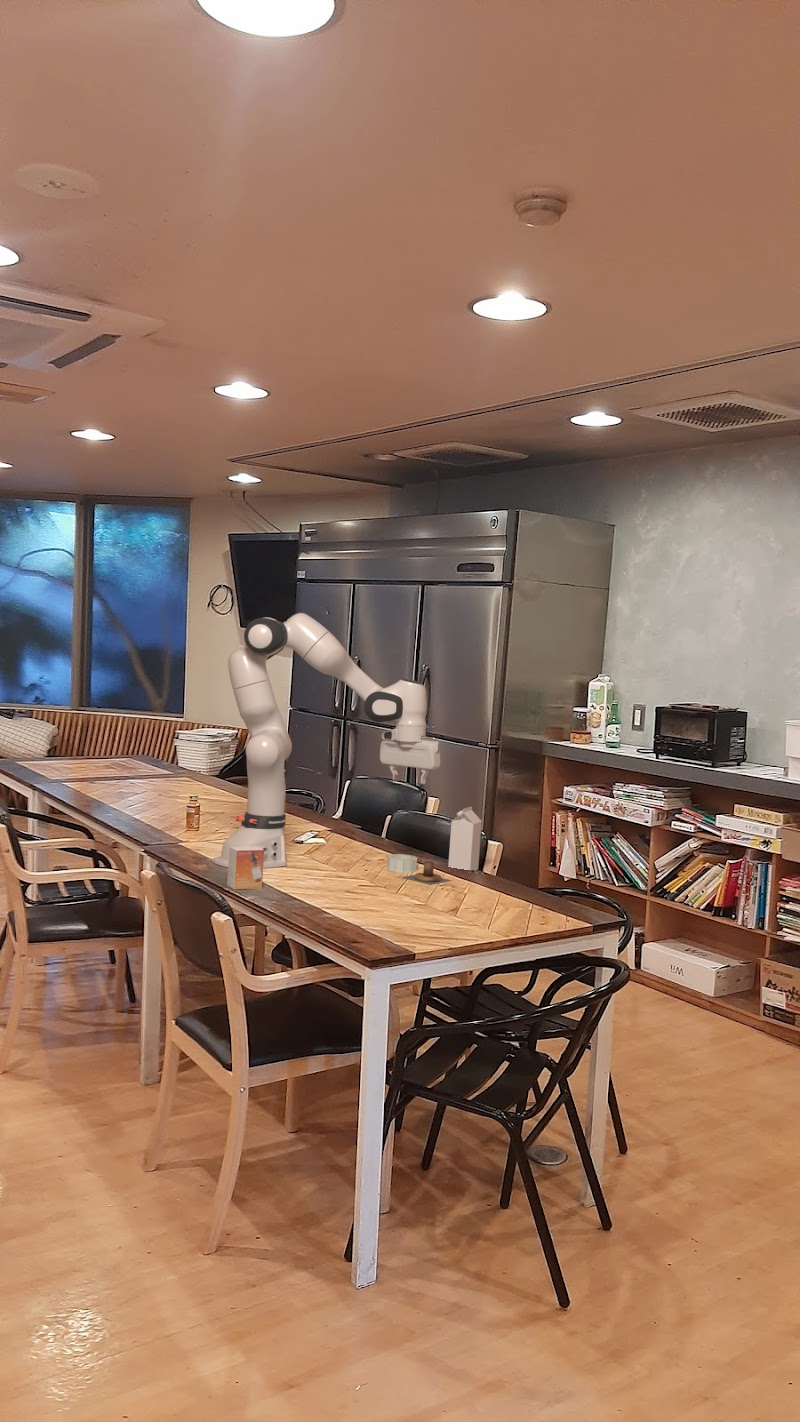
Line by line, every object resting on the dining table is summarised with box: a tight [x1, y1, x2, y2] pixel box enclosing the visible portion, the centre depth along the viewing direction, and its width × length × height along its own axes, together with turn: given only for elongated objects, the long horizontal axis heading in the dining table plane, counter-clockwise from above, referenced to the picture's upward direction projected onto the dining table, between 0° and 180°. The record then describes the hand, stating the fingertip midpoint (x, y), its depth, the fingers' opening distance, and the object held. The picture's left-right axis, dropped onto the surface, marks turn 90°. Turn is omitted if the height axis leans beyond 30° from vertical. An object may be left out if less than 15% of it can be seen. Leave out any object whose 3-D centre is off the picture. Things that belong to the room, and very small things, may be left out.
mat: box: [400, 874, 453, 886], centre depth 312 cm, size 10×11×1 cm
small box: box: [226, 846, 264, 890], centre depth 288 cm, size 8×6×10 cm
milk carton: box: [447, 806, 483, 872], centre depth 329 cm, size 7×7×19 cm
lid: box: [414, 860, 442, 882], centre depth 311 cm, size 8×8×5 cm
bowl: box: [386, 853, 418, 874], centre depth 323 cm, size 9×9×4 cm
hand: (409, 782), depth 319 cm, fingers open, 8 cm apart
